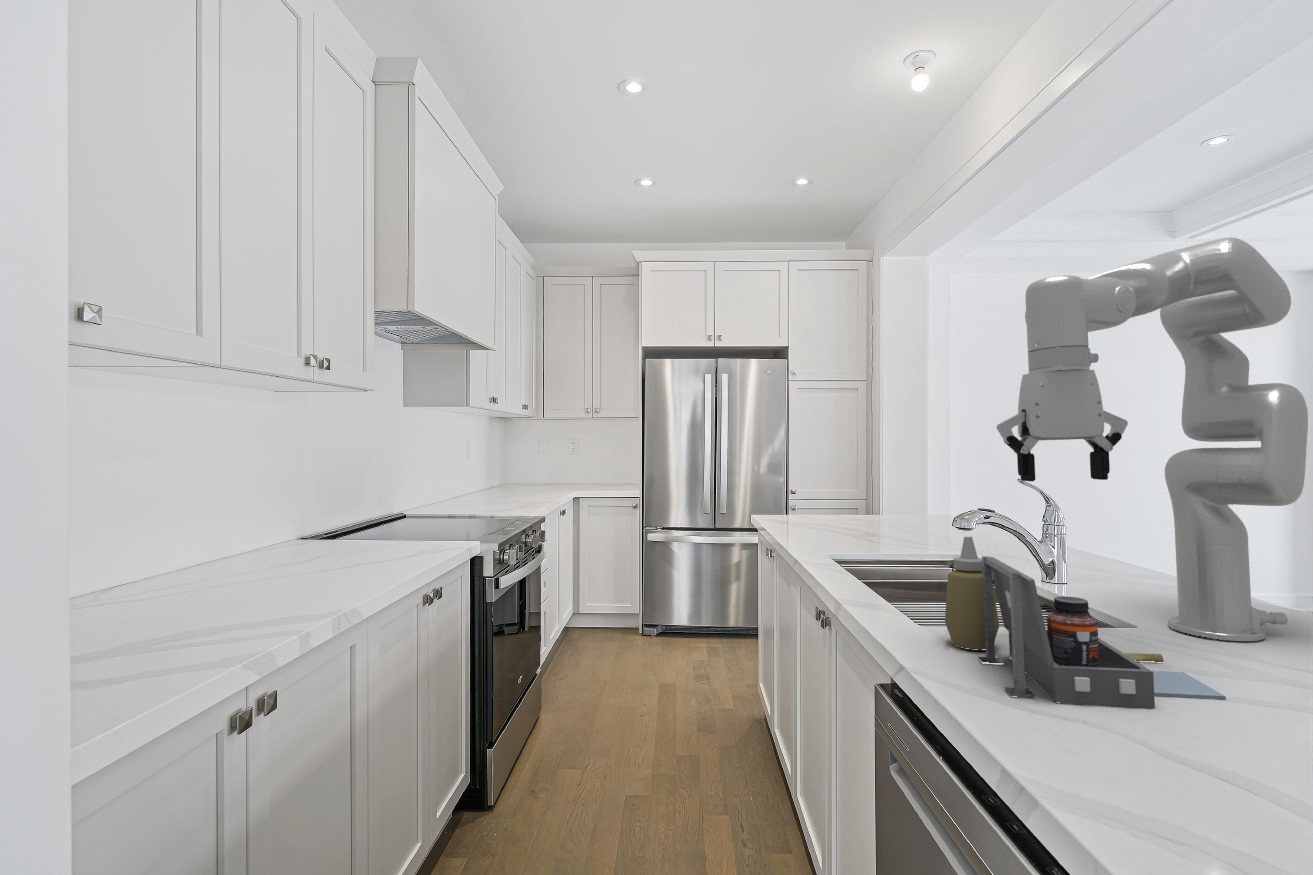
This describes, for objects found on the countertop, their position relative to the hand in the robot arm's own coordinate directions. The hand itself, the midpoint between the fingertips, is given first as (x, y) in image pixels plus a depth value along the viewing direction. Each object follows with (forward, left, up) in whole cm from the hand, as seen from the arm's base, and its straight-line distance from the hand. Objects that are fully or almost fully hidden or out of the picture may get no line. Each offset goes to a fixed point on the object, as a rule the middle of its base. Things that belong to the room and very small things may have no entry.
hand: (1063, 480), depth 92 cm
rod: (-9, -7, -28) cm, 30 cm away
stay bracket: (+10, +3, -28) cm, 30 cm away
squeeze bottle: (+11, -11, -28) cm, 32 cm away
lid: (+7, +3, -18) cm, 19 cm away
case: (+1, +3, -28) cm, 28 cm away
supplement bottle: (+1, +3, -28) cm, 28 cm away
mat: (-10, +3, -28) cm, 30 cm away
